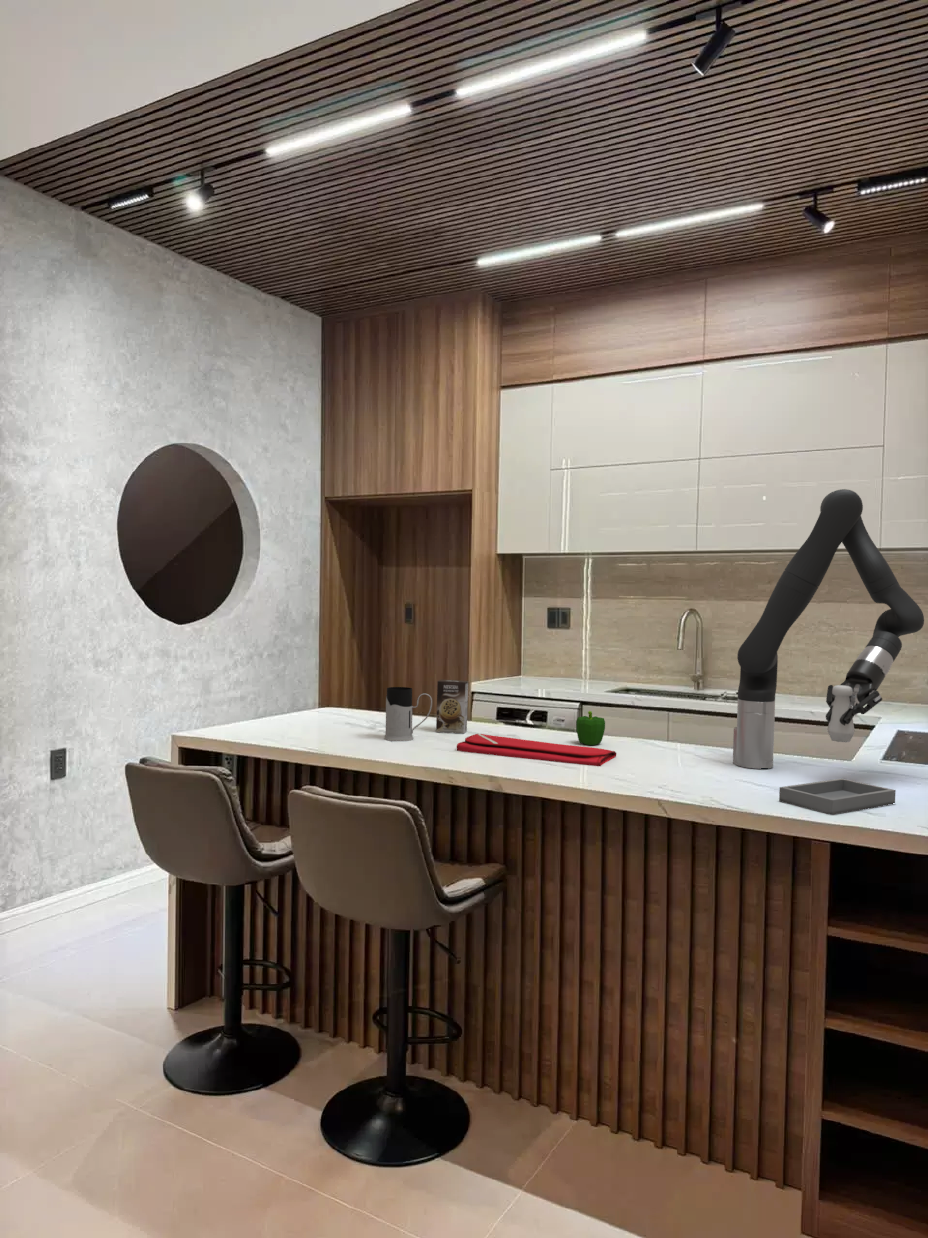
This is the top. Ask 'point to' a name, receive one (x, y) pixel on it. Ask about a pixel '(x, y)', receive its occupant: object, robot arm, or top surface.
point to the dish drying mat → (535, 750)
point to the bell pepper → (590, 729)
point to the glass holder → (400, 714)
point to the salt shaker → (839, 708)
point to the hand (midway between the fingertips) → (835, 722)
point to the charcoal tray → (836, 796)
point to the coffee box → (452, 706)
